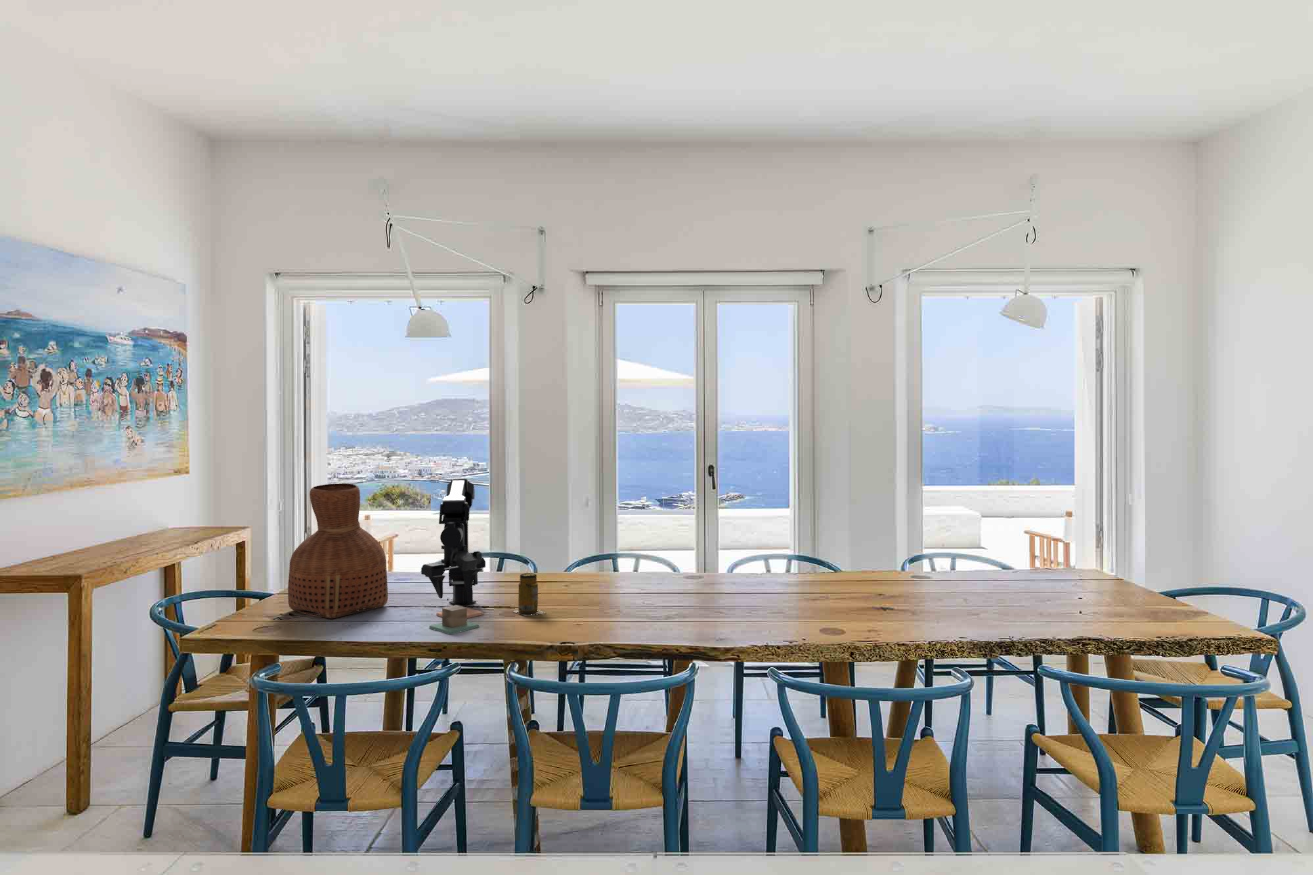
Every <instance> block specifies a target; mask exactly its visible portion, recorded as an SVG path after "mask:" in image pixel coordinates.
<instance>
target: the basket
mask: <svg viewBox="0 0 1313 875" xmlns="http://www.w3.org/2000/svg"><path fill="white" fill-rule="evenodd" d="M360 490H361V489H360V488H359V486H358V485H356V484H353V483H345V482H344V483H343V482H342V483H341V482H340V483H328V484H327V483H326V484H320V485H316V486H313V487H312V488H310V490H309V499H310V500H309V501H310V504H311V508H312V512H313V513H314V515H315V520H316V524H317V531H315V532H314V533H312V534H311V535H310V536H308V537H306V539H305V540H303V541H302V542H301V543H300V544H299V545H298V546H297V547H296V548H295V550H294V551H293V553H292V555H291V556H290V560H289V564H288V565H289V570H288V580H287V599H288V600H287V602H288V607H289V608H290V609H291V610H292V611H293V612H297V613H301V614H303V615H308V616H313V617H319V618H324V619H325V618H327V619H335V618H340V617H345V616H348V615H353V614H357V613H362V612H364V611H369V610H372V609H377V608H382V607H384V606H385V605H386V604H388V601H389V600H388V599H389V597H388V596H389V594H388V592H389V589H388V570H387V558H386V553H385V549H384V548H383V546H382V544H381V543H380V542H379V541H378V540H377V539H376V538H375V537H374V536H373V535H372V534H371V533H369V532H368V531H367V530H365V529H363V528H362V527H361V525H360V524H361V523H360V521H359V517H360V516H359V515H360V510H361V509H360V508H361V491H360ZM310 612H311V613H310Z"/></svg>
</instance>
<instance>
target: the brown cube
mask: <svg viewBox="0 0 1313 875" xmlns="http://www.w3.org/2000/svg"><path fill="white" fill-rule="evenodd" d="M467 608H468V607H467V606H466V607H465V606H458V605H451V606H446V607H442V608H441V612H442V617H441V623H442V625H443V626H446V627H450V628H456V627H460V626H464V625H467V621H468V618H467Z"/></svg>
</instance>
